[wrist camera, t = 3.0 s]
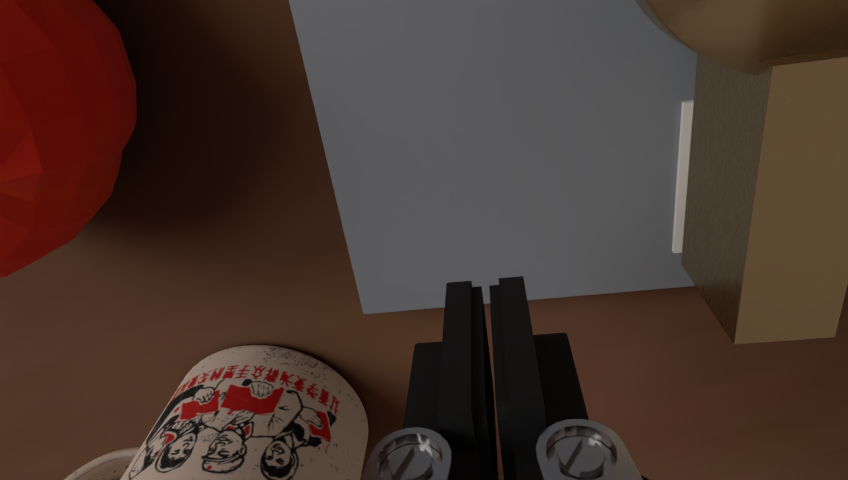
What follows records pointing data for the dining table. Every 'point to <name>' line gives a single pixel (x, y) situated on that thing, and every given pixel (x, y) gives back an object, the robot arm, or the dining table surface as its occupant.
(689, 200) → the lock handle
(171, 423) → the teacup with lid
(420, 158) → the base
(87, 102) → the tomato
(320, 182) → the dining table surface
